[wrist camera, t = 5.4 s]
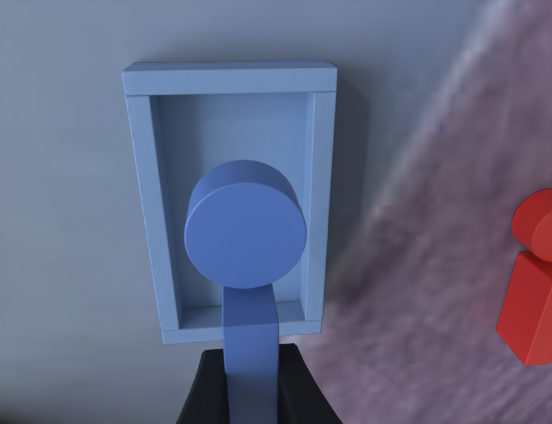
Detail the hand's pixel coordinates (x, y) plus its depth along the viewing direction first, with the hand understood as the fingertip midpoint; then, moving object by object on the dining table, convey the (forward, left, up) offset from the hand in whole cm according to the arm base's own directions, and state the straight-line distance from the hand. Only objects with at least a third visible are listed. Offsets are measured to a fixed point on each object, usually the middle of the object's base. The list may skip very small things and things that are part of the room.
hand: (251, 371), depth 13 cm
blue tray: (+2, 0, -7) cm, 8 cm away
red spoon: (-2, -14, -7) cm, 16 cm away
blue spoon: (+2, 0, -1) cm, 2 cm away
